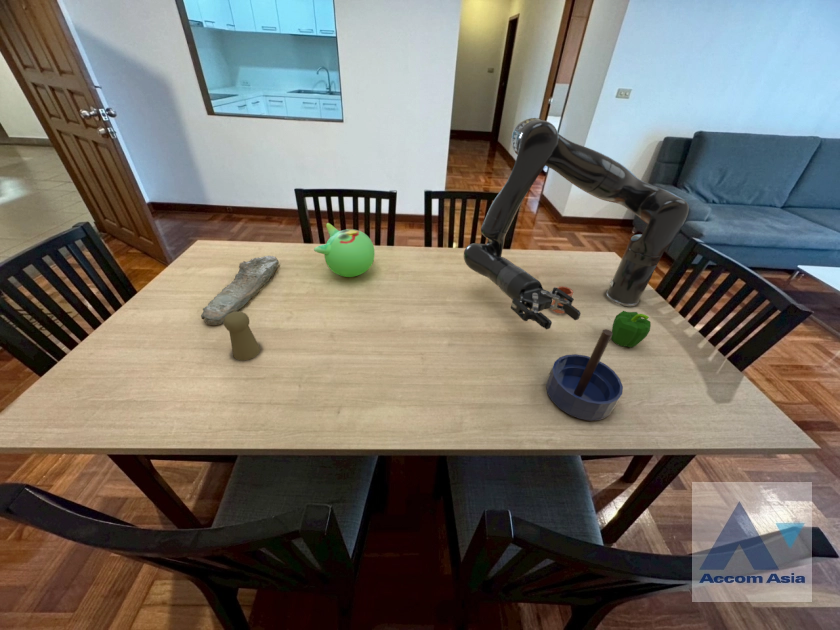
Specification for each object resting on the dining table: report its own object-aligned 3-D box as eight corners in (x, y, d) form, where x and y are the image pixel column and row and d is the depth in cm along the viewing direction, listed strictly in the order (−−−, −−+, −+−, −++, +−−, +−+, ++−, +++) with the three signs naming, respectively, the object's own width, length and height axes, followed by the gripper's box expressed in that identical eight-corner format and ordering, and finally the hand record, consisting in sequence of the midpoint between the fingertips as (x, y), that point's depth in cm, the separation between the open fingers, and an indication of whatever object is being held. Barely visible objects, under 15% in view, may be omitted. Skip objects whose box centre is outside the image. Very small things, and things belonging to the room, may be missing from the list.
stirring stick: (578, 389, 80) (607, 328, 69) (584, 395, 79) (614, 333, 68) (572, 392, 79) (600, 330, 68) (578, 397, 78) (608, 336, 67)
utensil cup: (558, 304, 108) (565, 284, 104) (569, 312, 105) (577, 293, 101) (546, 307, 107) (553, 288, 102) (557, 316, 103) (565, 296, 99)
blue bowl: (577, 365, 87) (585, 347, 83) (626, 408, 77) (637, 390, 73) (532, 383, 82) (539, 364, 78) (578, 431, 72) (588, 413, 68)
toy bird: (371, 287, 111) (369, 244, 102) (317, 284, 111) (311, 241, 102) (377, 259, 125) (376, 220, 116) (330, 257, 125) (325, 217, 116)
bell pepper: (599, 335, 97) (612, 306, 91) (620, 329, 100) (635, 300, 94) (623, 355, 91) (640, 325, 85) (646, 348, 94) (663, 318, 88)
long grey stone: (193, 327, 93) (229, 333, 93) (186, 312, 90) (224, 318, 89) (258, 259, 120) (286, 264, 119) (255, 246, 116) (284, 250, 116)
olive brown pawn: (265, 347, 87) (255, 311, 80) (248, 363, 82) (235, 326, 76) (245, 340, 88) (233, 305, 82) (227, 356, 84) (213, 320, 77)
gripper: (497, 277, 85) (544, 315, 73) (543, 266, 90) (593, 300, 78) (492, 303, 89) (535, 342, 78) (536, 291, 94) (582, 326, 83)
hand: (564, 321), depth 78 cm, fingers open, 8 cm apart
